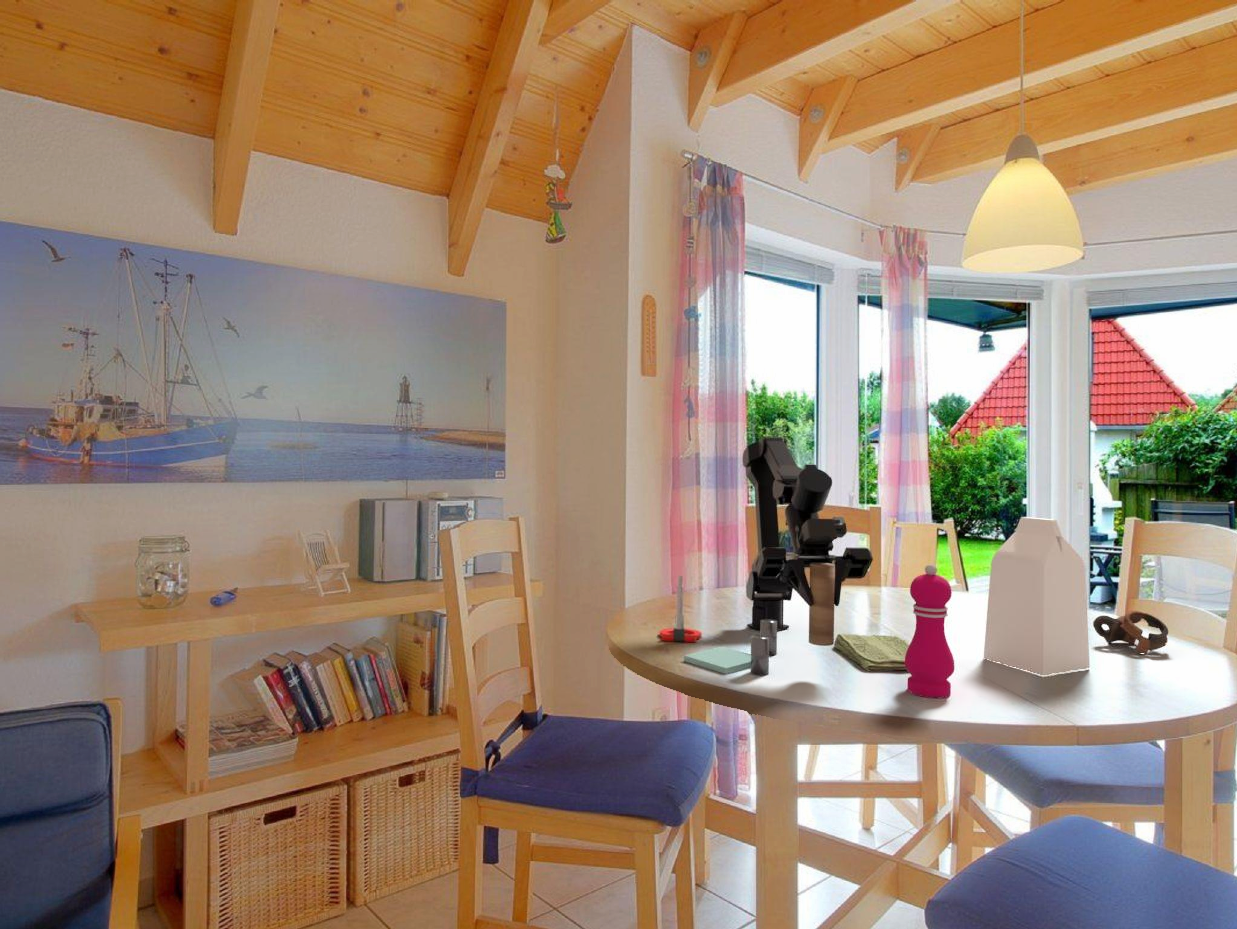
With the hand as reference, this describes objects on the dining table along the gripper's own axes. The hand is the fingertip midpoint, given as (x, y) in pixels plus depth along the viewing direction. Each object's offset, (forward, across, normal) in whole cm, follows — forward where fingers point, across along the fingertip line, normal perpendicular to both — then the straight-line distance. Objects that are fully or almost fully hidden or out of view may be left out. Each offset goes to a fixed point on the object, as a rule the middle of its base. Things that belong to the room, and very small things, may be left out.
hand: (824, 604), depth 125 cm
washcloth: (0, +15, +18) cm, 24 cm away
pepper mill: (+14, +15, +4) cm, 20 cm away
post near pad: (+6, -10, +12) cm, 16 cm away
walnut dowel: (+4, 0, +6) cm, 7 cm away
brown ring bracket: (-4, +66, +22) cm, 70 cm away
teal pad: (+1, -14, +16) cm, 22 cm away
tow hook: (-11, -20, +30) cm, 37 cm away
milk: (+3, +41, +15) cm, 44 cm away
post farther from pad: (-3, -5, +20) cm, 21 cm away
